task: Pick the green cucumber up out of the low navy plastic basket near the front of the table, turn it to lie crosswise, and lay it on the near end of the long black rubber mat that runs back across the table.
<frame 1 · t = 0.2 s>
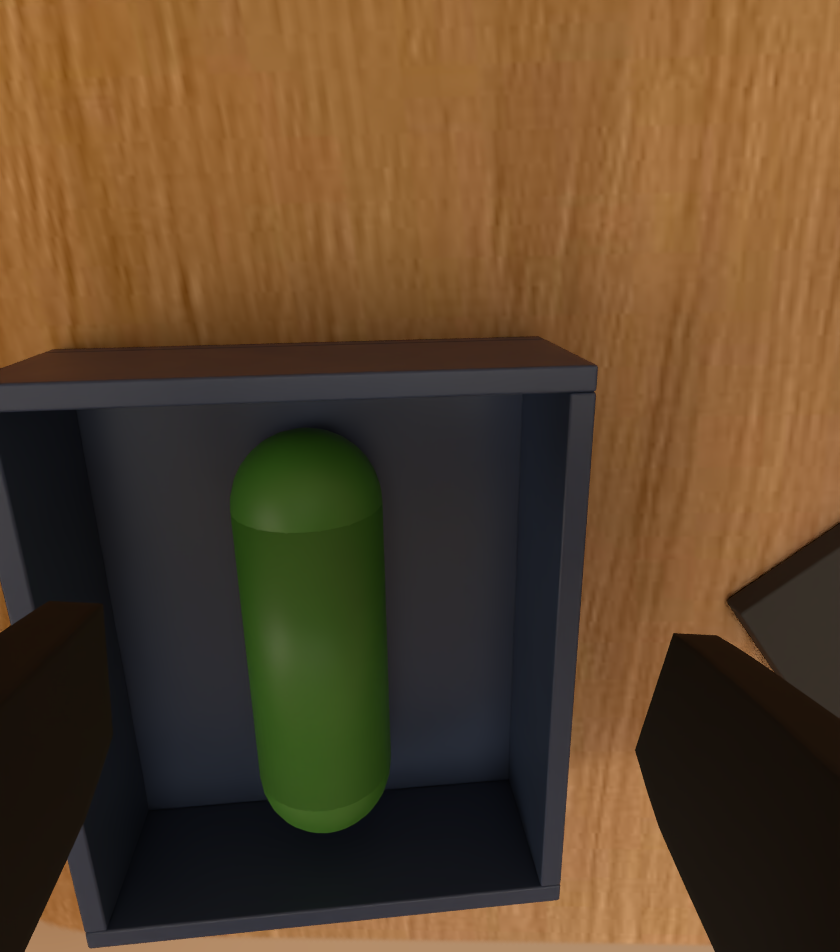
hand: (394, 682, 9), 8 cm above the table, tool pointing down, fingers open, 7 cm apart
cucumber: (317, 640, 16), point 2 cm above the table, touching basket
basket: (320, 595, 18), on the table
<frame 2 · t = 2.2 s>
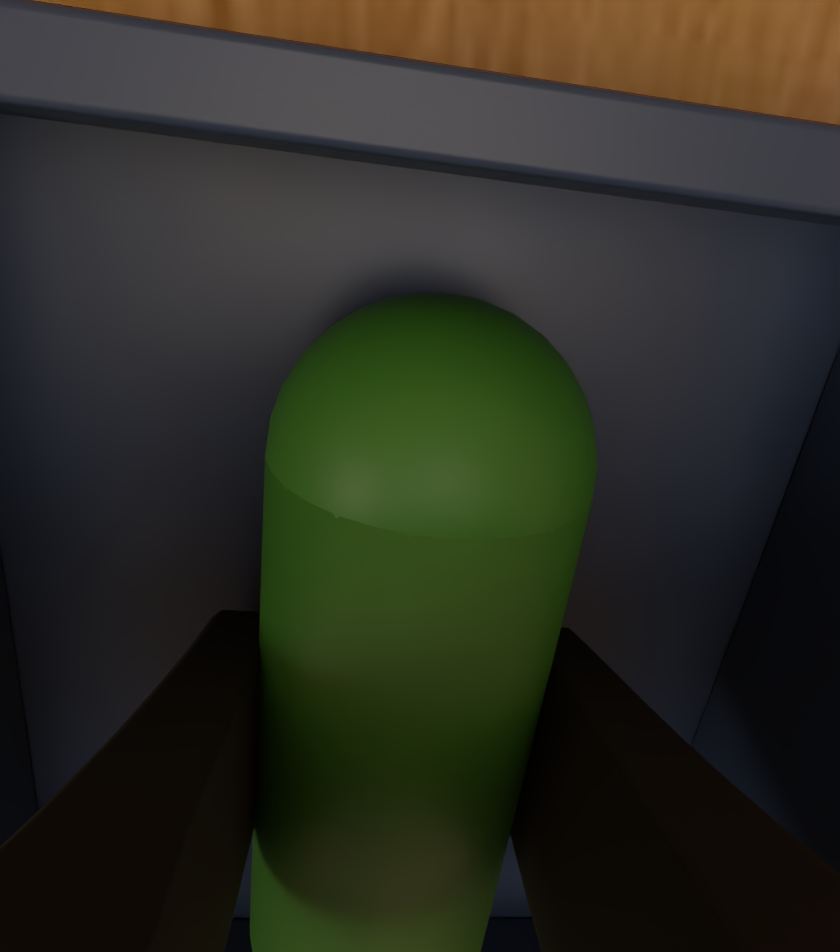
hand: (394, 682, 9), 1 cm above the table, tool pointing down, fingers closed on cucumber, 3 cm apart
cucumber: (394, 722, 8), point 2 cm above the table, touching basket, gripper
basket: (389, 617, 10), on the table
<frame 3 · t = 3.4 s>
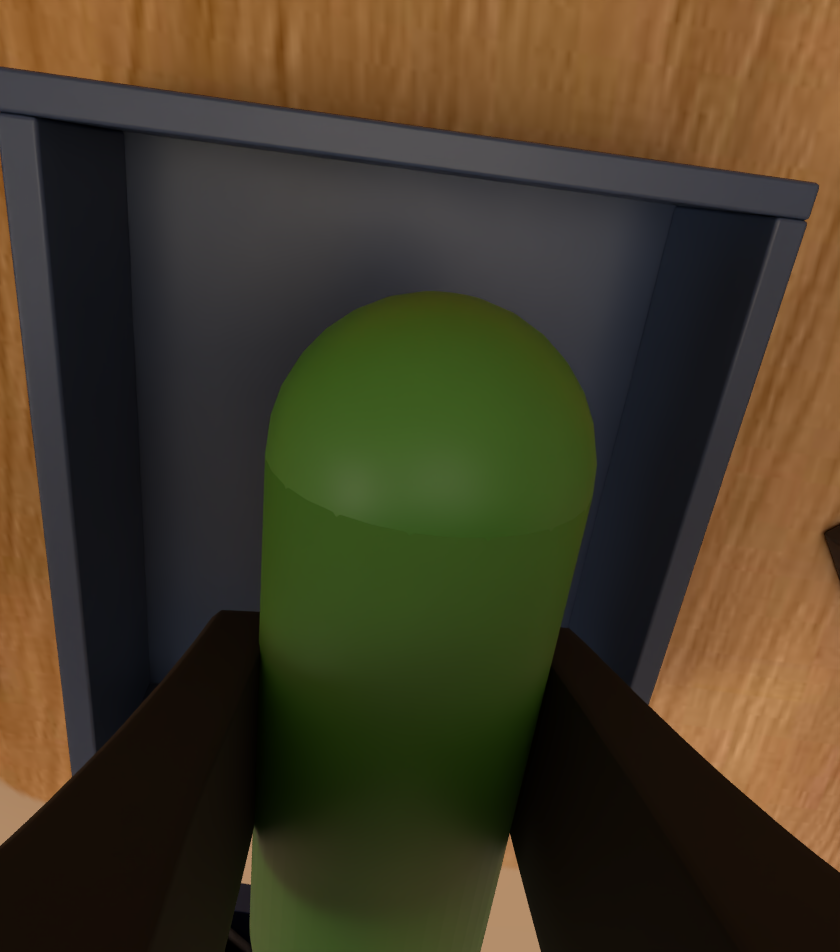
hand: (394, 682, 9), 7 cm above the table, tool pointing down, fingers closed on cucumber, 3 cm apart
cucumber: (394, 721, 8), point 8 cm above the table, touching gripper
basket: (380, 463, 15), on the table
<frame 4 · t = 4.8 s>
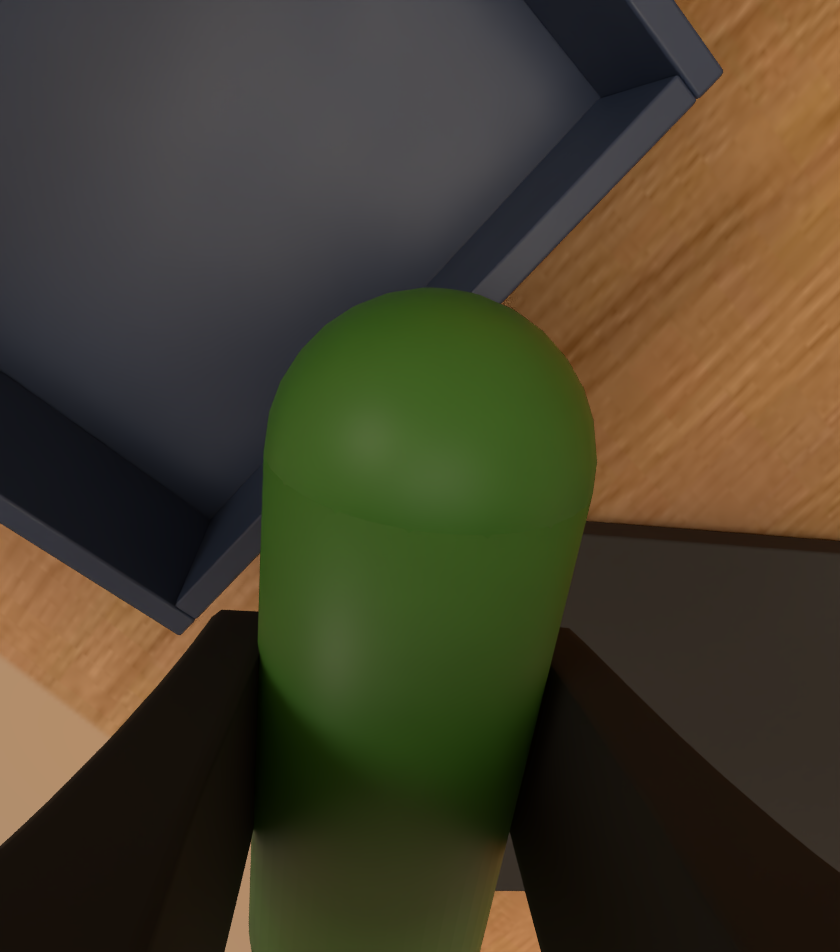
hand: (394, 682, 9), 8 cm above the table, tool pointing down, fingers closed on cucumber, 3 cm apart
cucumber: (393, 719, 8), point 9 cm above the table, touching gripper
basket: (193, 148, 13), on the table
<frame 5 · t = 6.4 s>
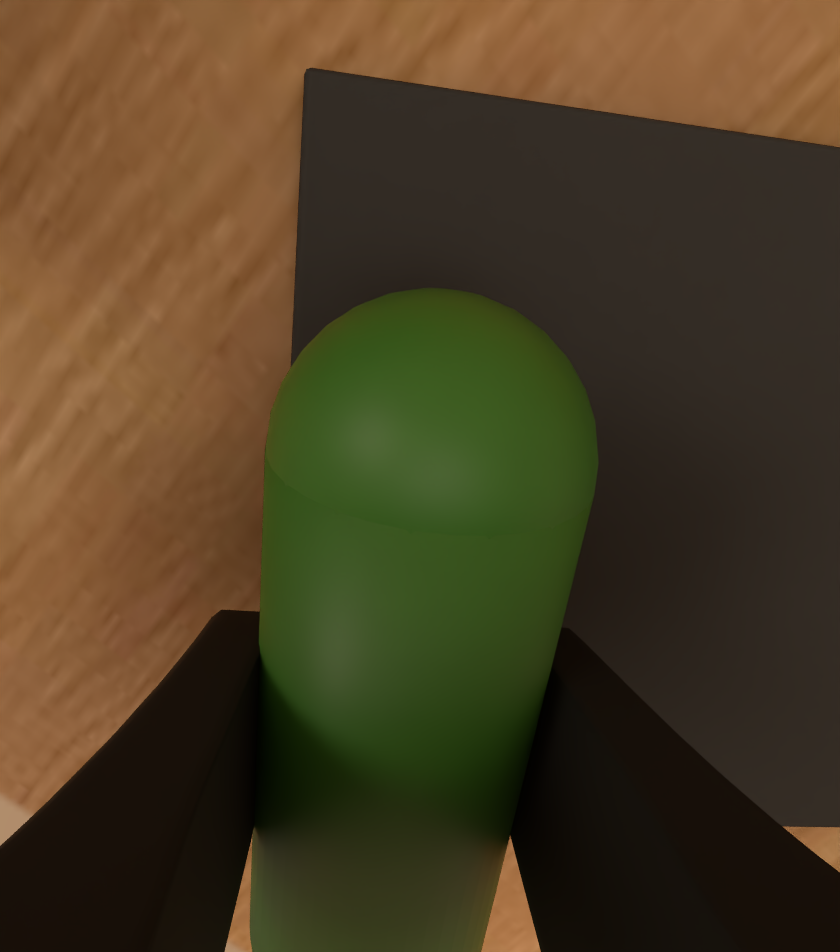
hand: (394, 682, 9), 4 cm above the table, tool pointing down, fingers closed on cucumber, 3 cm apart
cucumber: (394, 720, 8), point 4 cm above the table, touching gripper
when the fingers open (2 cm above the table, at t = 7.3 s): cucumber stays where it is, resting on mat.
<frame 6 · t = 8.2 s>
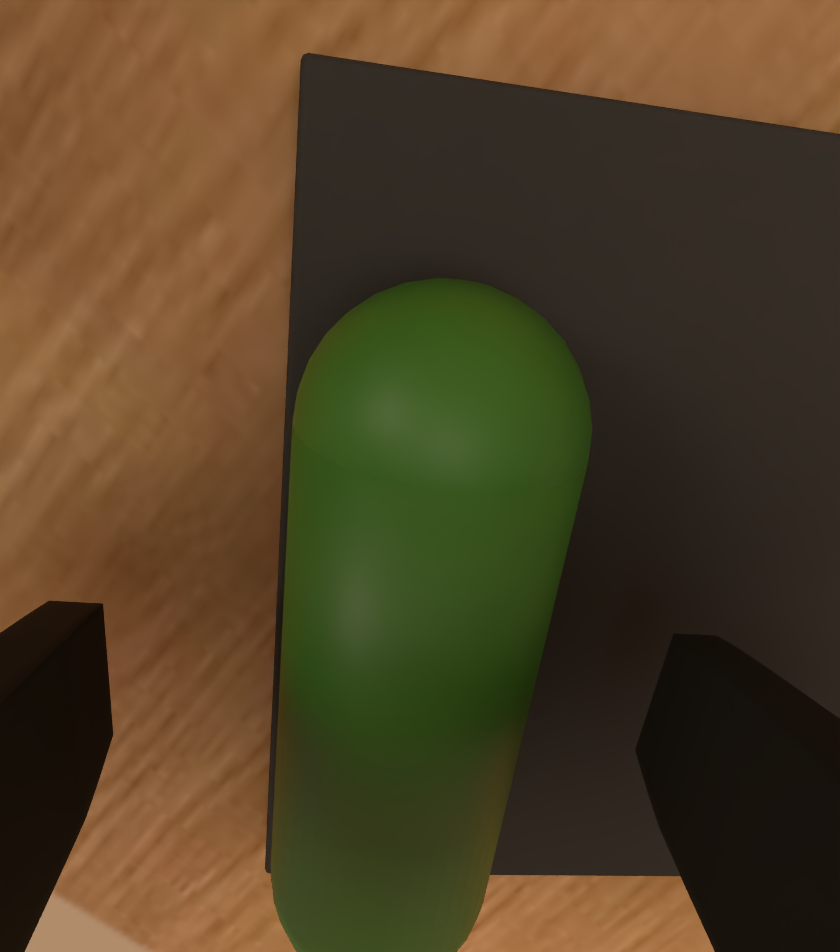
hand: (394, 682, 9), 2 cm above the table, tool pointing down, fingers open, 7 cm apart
cucumber: (406, 676, 9), point 2 cm above the table, tilted 5°, touching mat
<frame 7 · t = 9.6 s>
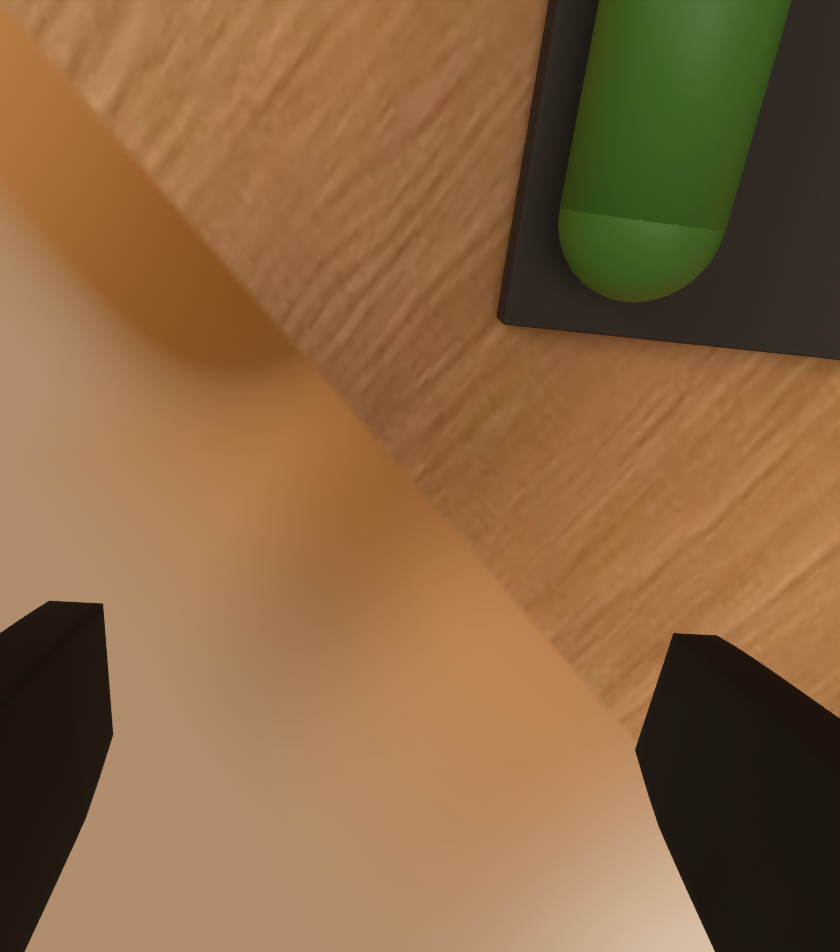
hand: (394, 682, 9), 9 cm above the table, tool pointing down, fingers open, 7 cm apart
cucumber: (688, 16, 12), point 2 cm above the table, tilted 12°, touching mat
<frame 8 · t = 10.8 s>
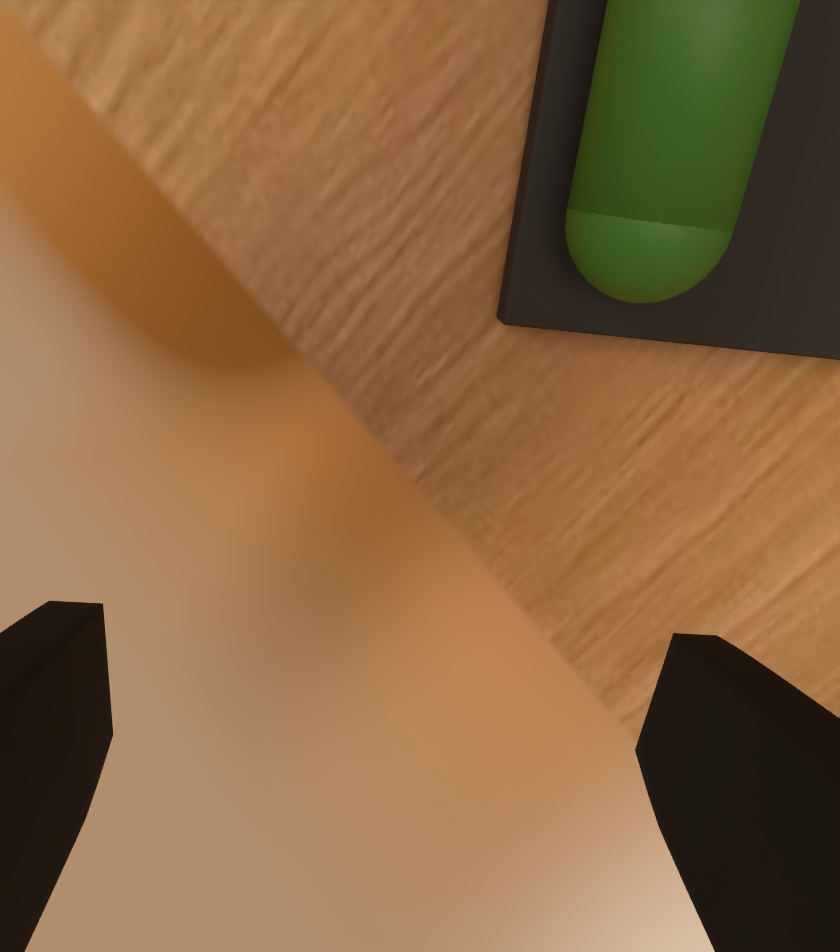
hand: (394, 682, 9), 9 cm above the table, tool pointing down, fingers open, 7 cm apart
cucumber: (696, 17, 12), point 2 cm above the table, tilted 17°, touching mat
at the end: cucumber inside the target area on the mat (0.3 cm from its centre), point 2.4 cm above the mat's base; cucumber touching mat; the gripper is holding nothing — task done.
